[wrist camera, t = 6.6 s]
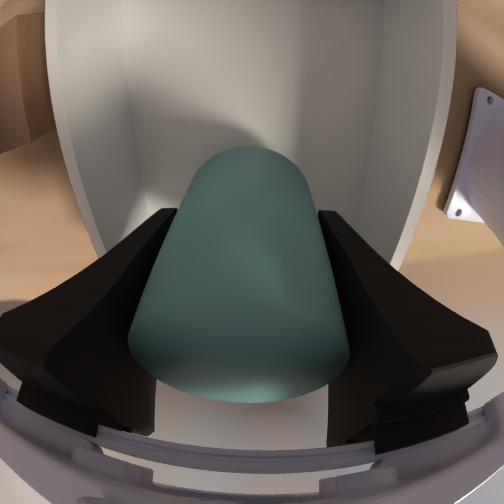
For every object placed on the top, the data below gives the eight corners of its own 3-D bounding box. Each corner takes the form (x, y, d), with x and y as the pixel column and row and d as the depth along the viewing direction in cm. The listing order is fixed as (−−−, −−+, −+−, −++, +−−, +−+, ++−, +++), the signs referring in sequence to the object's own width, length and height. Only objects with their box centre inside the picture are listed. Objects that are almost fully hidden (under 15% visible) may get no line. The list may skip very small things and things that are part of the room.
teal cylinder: (307, 250, 13) (327, 399, 7) (199, 253, 13) (167, 396, 8) (313, 145, 9) (378, 294, 4) (178, 151, 10) (88, 295, 4)
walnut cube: (91, 14, 7) (17, 15, 3) (99, 105, 10) (31, 142, 6) (22, 49, 7) (-46, 70, 3) (33, 125, 10) (-28, 166, 7)
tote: (388, -6, 6) (454, -23, 2) (351, 249, 15) (373, 320, 11) (117, -4, 6) (46, -17, 3) (153, 245, 16) (125, 313, 12)
